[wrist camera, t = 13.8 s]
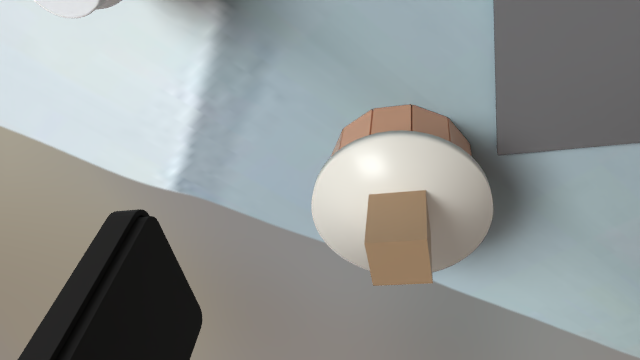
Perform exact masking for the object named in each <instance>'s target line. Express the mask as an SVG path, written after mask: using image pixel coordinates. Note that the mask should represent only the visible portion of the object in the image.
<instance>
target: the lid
mask: <svg viewBox="0 0 640 360" xmlns="http://www.w3.org/2000/svg"><path fill="white" fill-rule="evenodd" d="M312 215H313V220H314V223H315V226H316V228H317V230H318V232H319V234H320V236H321V237H322V238H323V240H324V241H325V243H326V244H327V245H328V246H329V247H330V248H331V249H332V250H333V251H334V252H336V253H337V254H338V255H339V256H341V257H342V258H344V259H345V260H347V261H348V262H350V263H352V264H354V265H356V266H358V267H361V268H364V269H367V270H369V271H370V273H371V277H372V282H373V285H374V286H377V285H401V284H424V283H433V281H432V272H436V271H439V270H442V269H445V268H447V267H450V266H452V265H454V264H456V263H458V262H460V261H461V260H463V259H464V258H466V257H467V256H468V255H470V254H471V253H472V252H473V251H474V250H475V249H476V248H477V247H478V246H479V245H480V244H481V242H482V241H483V239H484V238H485V236H486V235H487V233H488V230H489V228H490V226H491V222H492V218H493V200H492V194H491V188H490V185H489V182H488V179H487V177H486V175H485V173H484V171H483V170H482V168H481V167H480V165H479V164H478V163H477V162H476V161H475V160H474V158H473V157H472V156H471V155H470V154H468V153H467V152H466V151H464V150H463V149H462V148H460V147H459V146H457V145H455V144H453V143H452V142H450V141H447V140H445V139H443V138H440V137H438V136H434V135H431V134H427V133H422V132H416V131H403V130H401V131H386V132H380V133H375V134H371V135H368V136H364V137H362V138H359V139H357V140H355V141H353V142H351V143H349V144H347V145H345V146H344V147H342V148H341V149H340V150H338V151H337V152H336V153H335V154H334V155H333V156H332V157H331V158H330V159H329V160H328V161H327V162H326V163H325V165H324V166H323V167H322V169H321V171H320V173H319V175H318V177H317V180H316V183H315V186H314V191H313V196H312Z"/></svg>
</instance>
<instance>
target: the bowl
mask: <svg viewBox="0 0 640 360" xmlns="http://www.w3.org/2000/svg"><path fill="white" fill-rule="evenodd" d="M401 130H403V131H416V132H422V133H427V134H431V135H434V136H438V137H440V138H443V139H445V140H447V141H450V142H452V143H453V144H455V145H457V146H459V147H460V148H462V149H463V150H464V151H466V152H467V153H468V154H470V155H471V148H470V144H469V142H468V141H467V140H466V138H465V137H464V136H463V135H462V134H461V132H460V131H459V130H458V129H457V128H456V126H455V125H454V124H453V123H452V122H451V120H450V119H449V118H448V119H447V117H445V116H443V115H440V114H437V113H434V112H431V111H429V110H426V109H423V108H420V107H418V106H415V105H412V107H411V105H402V106H393V107H384V108H375V109H374V110H370V111H369V112H367V113H366V114H364V115H363V116H361V117H360V118H358V119H357V120H355V121H354V122H352V123H351V124H349V125H348V126H346V127H345V128H344V130H342V132H341V134H340V137H339V139H338V141H337V144H336V146H335V148H334V151H333V153H332V155H331V157H332V156H333V155H334V154H335V153H336V152H337V151H338V150H340V149H341V148H342V147H344V146H345V145H347V144H349V143H351V142H353V141H355V140H357V139H359V138H362V137H364V136H368V135H371V134H375V133H380V132H386V131H401ZM471 156H472V155H471Z"/></svg>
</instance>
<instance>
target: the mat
mask: <svg viewBox="0 0 640 360" xmlns="http://www.w3.org/2000/svg"><path fill="white" fill-rule="evenodd" d="M494 41H495V83H496V125H497V153H498V155H506V154H518V153H529V152H540V151H551V150H562V149H573V148H585V147H596V146H607V145H618V144H629V143H640V0H494Z"/></svg>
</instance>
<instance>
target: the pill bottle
mask: <svg viewBox="0 0 640 360" xmlns="http://www.w3.org/2000/svg"><path fill="white" fill-rule="evenodd" d="M34 1H35V2H36V3H37V4H38V5H40V6H41V7H42V8H44V9H45V10H47V11H49V12H50V13H52V14H55V15H57V16H61V17H65V18H81V17H84V16H87V15H89V14H90V13H92V12H93V11H94V10H96V9H104V8H108V7H111V6H113V5H116V4H117V3H119V2H120V1H122V0H34Z"/></svg>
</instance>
